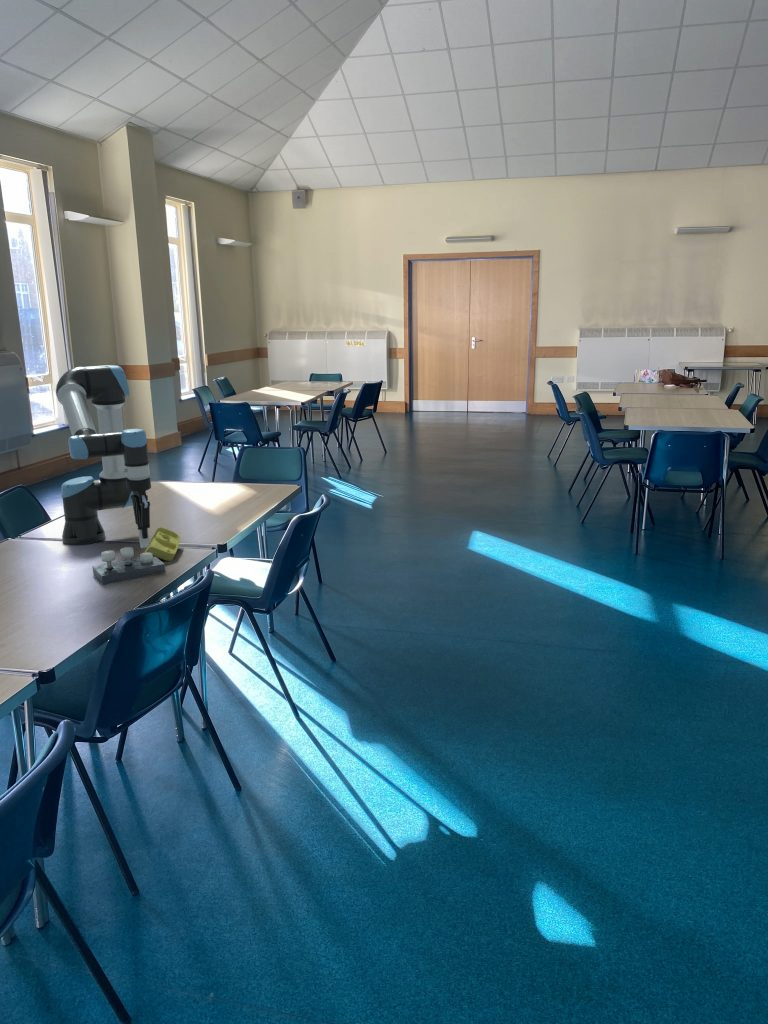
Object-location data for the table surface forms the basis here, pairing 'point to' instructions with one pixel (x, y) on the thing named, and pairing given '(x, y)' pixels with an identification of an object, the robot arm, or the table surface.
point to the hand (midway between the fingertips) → (144, 546)
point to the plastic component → (164, 544)
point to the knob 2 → (146, 557)
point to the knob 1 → (108, 558)
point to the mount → (127, 570)
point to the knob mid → (127, 554)
